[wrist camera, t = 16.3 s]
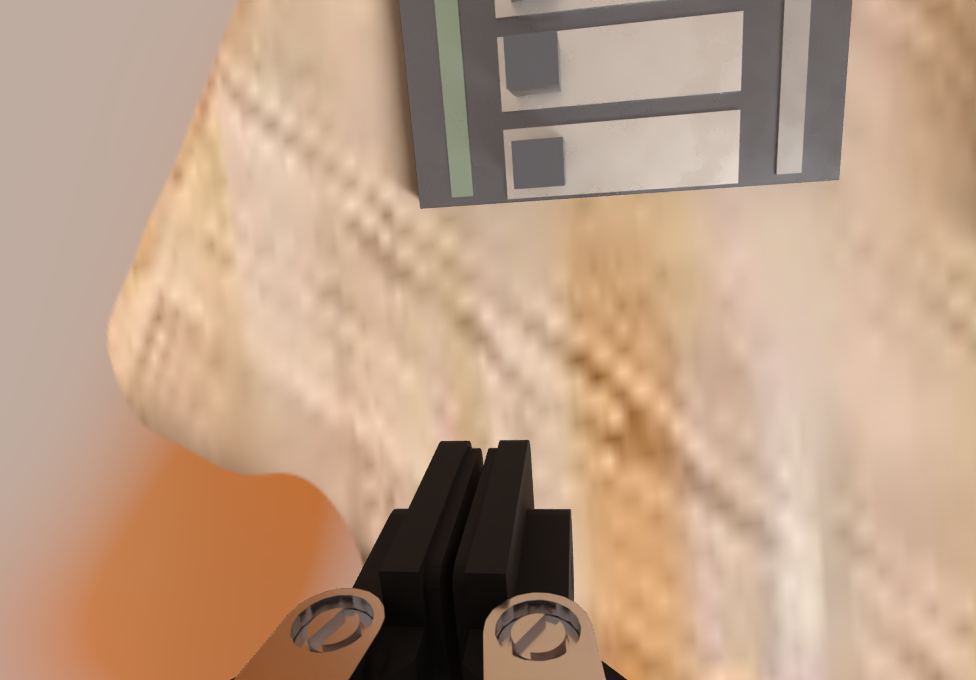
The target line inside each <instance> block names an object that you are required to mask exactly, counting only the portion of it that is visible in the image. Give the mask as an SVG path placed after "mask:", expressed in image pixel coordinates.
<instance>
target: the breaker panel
mask: <svg viewBox="0 0 976 680" xmlns="http://www.w3.org/2000/svg"><path fill="white" fill-rule="evenodd" d="M399 8H400V17H401V27H402V37H403V46H404V56H405V66H406V75H407V85H408V95H409V104H410V114H411V124H412V134H413V143H414V153H415V163H416V172H417V182H418V192H419V201H420V209H423V208H437V207H452V206H467V205H481V204H496V203H510V202H525V201H539V200H554V199H568V198H583V197H598V196H612V195H627V194H641V193H656V192H670V191H685V190H699V189H714V188H729V187H743V186H758V185H772V184H787V183H801V182H816V181H831V180H839V174H840V160H841V146H842V133H843V119H844V105H845V92H846V78H847V64H848V50H849V37H850V23H851V9H852V0H399ZM555 30H557V33H558V40H559V49H560V73H561V92H553V93H542V94H531V95H521V96H514V95H513V94H512V93H511V92H510V91H509V90H507V89H506V74H505V58H504V42H503V36H508V35H518V34H527V33H536V32H545V31H555ZM554 137H563V138H564V141H565V165H566V184H565V186H554V187H540V188H526V189H514V179H513V163H512V147H511V141H518V140H530V139H542V138H554Z"/></svg>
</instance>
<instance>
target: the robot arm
mask: <svg viewBox="0 0 976 680" xmlns="http://www.w3.org/2000/svg"><path fill="white" fill-rule="evenodd" d="M231 680H627V679H625V678H624V677H623V676H621V675H620V674H619V673H617V672H616V671H615V670H613V669H612V668H611V667H609V666H608V665H607V664H605V663H604V662H603V661H602V660H601V658H600V654H599V650H598V645H597V641H596V637H595V633H594V629H593V625H592V623H591V621H590V619H589V617H588V614H587V613H586V612H585V611H584V610H583V609H582V608H581V607H580V606H579V605H578V604H577V603H575V602H574V569H573V542H572V521H571V509H534V496H533V480H532V464H531V449H530V442H529V440H500V442H499V445H498V448H489V449H488V452H487V455H486V459H485V462H484V465H483V457H482V451H481V448H472V446H471V443H470V441H441V442H440V443H439V445H438V447H437V449H436V451H435V454H434V456H433V458H432V460H431V462H430V464H429V466H428V468H427V470H426V473H425V475H424V477H423V479H422V481H421V483H420V485H419V487H418V489H417V492H416V494H415V496H414V498H413V500H412V502H411V504H410V506H409V509H394V510H393V511H392V513H391V514H390V516H389V518H388V520H387V522H386V524H385V526H384V528H383V529H382V531H381V533H380V535H379V537H378V539H377V541H376V543H375V545H374V547H373V549H372V551H371V553H370V555H369V557H368V559H367V561H366V562H365V564H364V566H363V568H362V570H361V572H360V574H359V576H358V578H357V580H356V582H355V584H354V586H353V588H341V589H336V590H331V591H326V592H323V593H321V594H318V595H315V596H313V597H311V598H309V599H307V600H306V601H304V602H303V603H301V604H299V605H298V606H297V607H296V608H295V609H294V610H292V611H291V612H290V613H289V614H288V615H287V616H286V618H285V619H284V620H283V621H282V623H281V624H280V625H279V626H278V627H277V628H276V630H275V631H274V632H273V633H272V634H271V636H270V637H269V638H268V639H267V640H266V642H265V643H264V644H263V645H262V646H261V648H260V649H259V650H258V651H257V652H256V654H255V655H254V656H253V657H252V658H251V659H250V661H249V662H248V663H247V664H246V665H245V667H244V668H243V669H242V670H241V671H240V673H239V674H238V675H237V676H236V677H235V678H233V679H231Z"/></svg>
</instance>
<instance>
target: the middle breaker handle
mask: <svg viewBox="0 0 976 680" xmlns="http://www.w3.org/2000/svg"><path fill="white" fill-rule="evenodd" d="M503 42H504V58H505V74H506V89H507V90H509V91H510V92H511V93H512V94H513V95H514V96H521V95H531V94H542V93H553V92H561V73H560V49H559V40H558V33H557V30H555V31H545V32H536V33H527V34H518V35H508V36H503Z"/></svg>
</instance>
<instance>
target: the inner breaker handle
mask: <svg viewBox="0 0 976 680" xmlns="http://www.w3.org/2000/svg"><path fill="white" fill-rule="evenodd" d="M511 147H512V163H513V179H514V189H526V188H540V187H554V186H565V184H566V165H565V141H564V138H563V137H554V138H542V139H530V140H518V141H511Z"/></svg>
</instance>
